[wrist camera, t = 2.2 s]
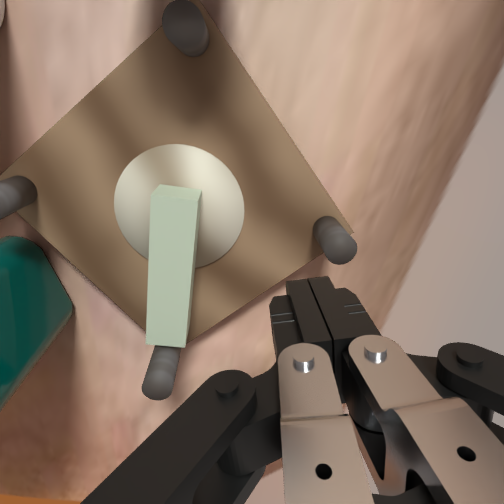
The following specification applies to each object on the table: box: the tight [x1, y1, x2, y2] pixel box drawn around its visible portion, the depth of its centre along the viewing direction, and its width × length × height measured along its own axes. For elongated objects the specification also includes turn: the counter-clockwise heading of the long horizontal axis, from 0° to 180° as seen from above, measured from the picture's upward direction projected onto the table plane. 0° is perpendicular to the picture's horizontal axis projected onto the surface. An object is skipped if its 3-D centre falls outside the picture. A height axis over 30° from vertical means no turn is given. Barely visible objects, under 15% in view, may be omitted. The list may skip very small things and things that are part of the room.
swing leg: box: [146, 184, 202, 348], centre depth 24 cm, size 11×3×3 cm, turn 172°
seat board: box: [0, 0, 357, 400], centre depth 23 cm, size 18×18×8 cm
